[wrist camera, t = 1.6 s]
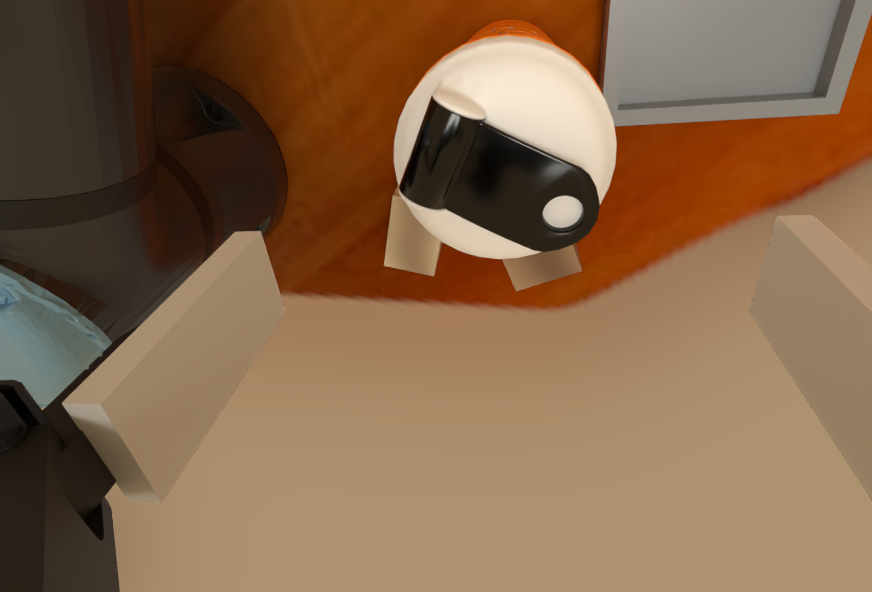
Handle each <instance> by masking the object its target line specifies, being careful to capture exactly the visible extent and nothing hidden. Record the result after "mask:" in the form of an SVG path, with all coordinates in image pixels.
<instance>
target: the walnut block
mask: <svg viewBox="0 0 872 592" xmlns="http://www.w3.org/2000/svg"><path fill="white" fill-rule="evenodd" d="M502 261H503V263H504V265H505V267H506V270H507V272H508V274H509V276H510V278H511V281H512V283H513V285H514V287H515V290H516V291H519V290H522V289H525V288H529V287H532V286H535V285H538V284H542V283H545V282H548V281H551V280H555V279H558V278H561V277H564V276H568V275H571V274H574V273H577V272H581V271H582V267H581V262H580V258H579V253H578V248H577V243H575V244H573V245H571V246H568V247H565V248H562V249H560V250H555V251H549V252H539V253H537V254H533V255H529V256H524V257H520V258H508V259H502Z"/></svg>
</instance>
